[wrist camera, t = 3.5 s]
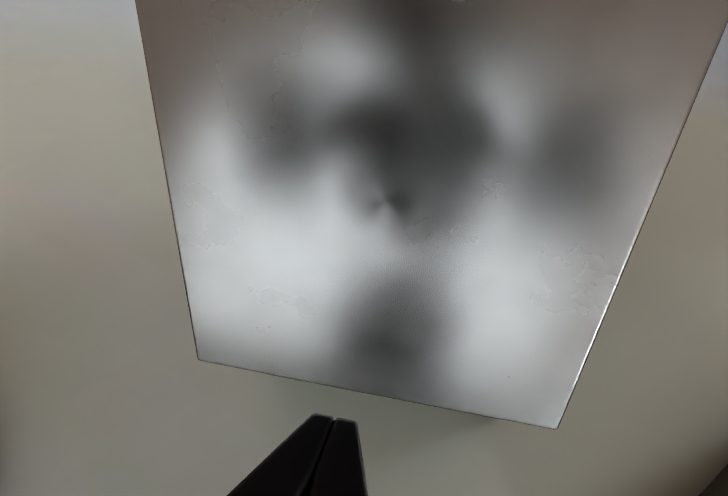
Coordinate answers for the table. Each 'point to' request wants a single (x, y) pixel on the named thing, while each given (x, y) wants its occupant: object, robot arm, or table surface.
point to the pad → (718, 485)
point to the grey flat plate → (417, 182)
